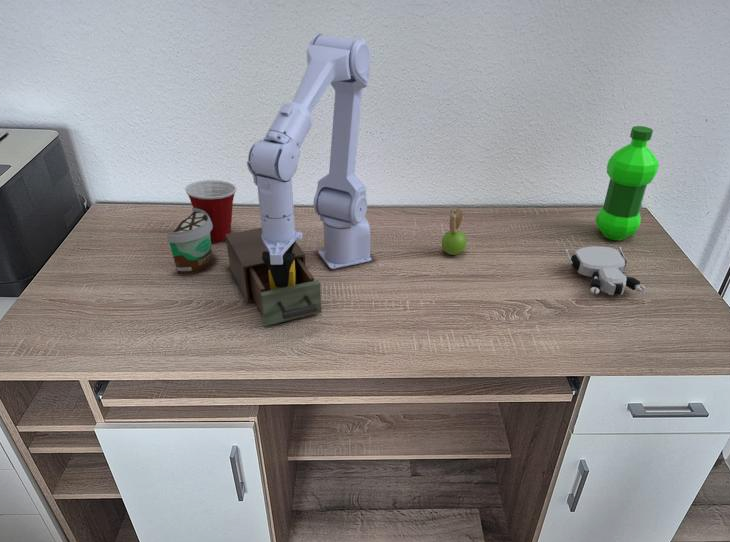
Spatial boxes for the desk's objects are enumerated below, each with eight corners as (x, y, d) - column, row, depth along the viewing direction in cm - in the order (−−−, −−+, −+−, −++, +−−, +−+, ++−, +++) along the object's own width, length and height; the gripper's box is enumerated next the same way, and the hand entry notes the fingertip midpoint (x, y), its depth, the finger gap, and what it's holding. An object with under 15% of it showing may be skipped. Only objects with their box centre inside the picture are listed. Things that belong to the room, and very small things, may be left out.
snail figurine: (435, 258, 134) (440, 207, 127) (444, 245, 139) (449, 195, 132) (459, 263, 133) (465, 212, 126) (468, 250, 138) (473, 200, 131)
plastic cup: (252, 233, 142) (246, 184, 135) (218, 252, 134) (210, 201, 127) (217, 221, 146) (210, 173, 139) (183, 239, 139) (173, 189, 132)
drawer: (330, 326, 112) (329, 296, 108) (273, 340, 108) (269, 309, 104) (298, 278, 125) (296, 250, 121) (245, 289, 121) (242, 260, 117)
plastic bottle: (646, 240, 143) (679, 134, 129) (610, 248, 140) (639, 139, 125) (617, 222, 151) (645, 119, 136) (582, 229, 147) (607, 124, 133)
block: (295, 280, 117) (294, 259, 114) (294, 292, 113) (293, 272, 111) (272, 280, 117) (270, 260, 114) (270, 293, 113) (268, 272, 111)
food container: (202, 281, 125) (194, 236, 119) (174, 277, 126) (165, 233, 120) (227, 252, 135) (221, 209, 129) (200, 248, 135) (193, 206, 130)
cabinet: (307, 289, 123) (305, 254, 118) (248, 302, 119) (243, 266, 114) (285, 257, 133) (282, 223, 129) (230, 268, 129) (225, 234, 124)
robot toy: (644, 302, 124) (614, 260, 135) (651, 284, 121) (620, 242, 132) (586, 305, 122) (560, 262, 134) (592, 287, 119) (565, 244, 131)
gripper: (298, 230, 100) (302, 300, 108) (302, 193, 112) (306, 259, 120) (254, 231, 100) (262, 301, 108) (263, 193, 112) (269, 259, 120)
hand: (282, 279), depth 114 cm, fingers closed on block, 4 cm apart
